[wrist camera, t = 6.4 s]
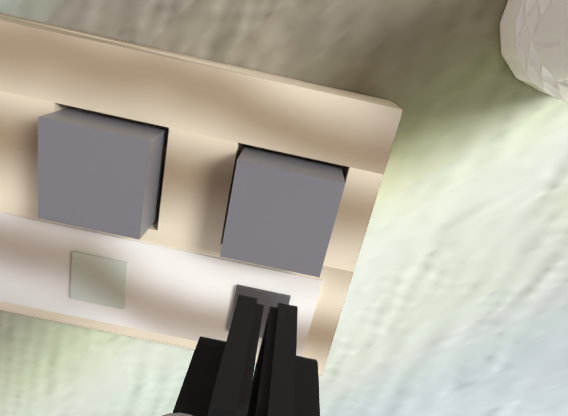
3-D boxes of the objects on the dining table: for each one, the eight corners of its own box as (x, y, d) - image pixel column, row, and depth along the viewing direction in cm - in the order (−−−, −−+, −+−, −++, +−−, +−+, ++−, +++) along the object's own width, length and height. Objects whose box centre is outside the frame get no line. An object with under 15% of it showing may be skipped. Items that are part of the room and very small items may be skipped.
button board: (320, 338, 29) (322, 380, 26) (-83, 255, 29) (-140, 286, 25) (389, 100, 24) (404, 111, 20) (-112, -12, 23) (-191, -22, 19)
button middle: (156, 219, 24) (139, 239, 21) (65, 200, 24) (37, 218, 21) (166, 129, 22) (149, 140, 20) (68, 107, 22) (38, 116, 19)
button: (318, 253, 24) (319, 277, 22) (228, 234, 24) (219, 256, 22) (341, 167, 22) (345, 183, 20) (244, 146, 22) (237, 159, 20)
